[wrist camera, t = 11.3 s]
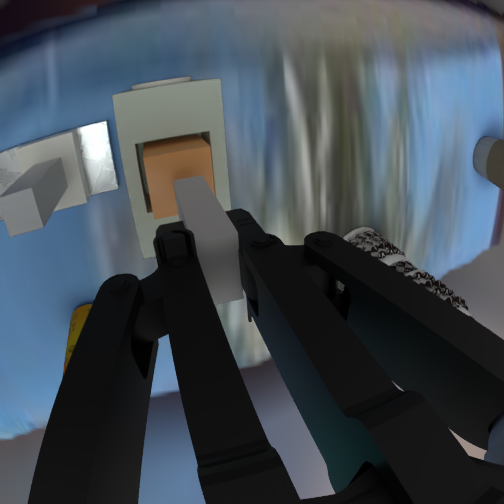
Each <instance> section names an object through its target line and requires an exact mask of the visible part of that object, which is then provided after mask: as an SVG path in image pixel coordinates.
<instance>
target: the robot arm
mask: <svg viewBox="0 0 504 504" xmlns="http://www.w3.org/2000/svg"><path fill="white" fill-rule="evenodd" d="M173 185H174V191H175V198H176V204H177V210H178V216H179V221H177V222H172V223H167V224H162V225H159V227H158V228H157V230H156V231H155V232H156V237H155V238H154V240H153V246H154V250H155V254H156V259H157V263H158V268H157V270H156V271H155V272H154V273H152V274H151V275H150V276H148V277H146V278H144V279H141V280H139V279H138V278H137V277H136V276H135V275H132V274H118V275H115V276H112V277H110V278H109V279H108V280H106V281H105V282H104V283H103V284H102V285H101V287H100V289H99V291H98V293H97V295H96V298H95V300H94V302H93V304H92V306H91V309H90V311H89V313H88V316H87V318H86V320H85V323H84V325H83V327H82V330H81V332H80V335H79V337H78V339H77V342H76V344H75V347H74V350H73V352H72V355H71V357H70V360H69V362H68V365H67V368H66V371H65V373H64V376H63V379H62V382H61V384H60V387H59V390H58V393H57V396H56V399H55V402H54V405H53V408H52V411H51V414H50V418H49V421H48V424H47V427H46V431H45V434H44V438H43V441H42V445H41V448H40V452H39V456H38V460H37V464H36V468H35V472H34V477H33V481H32V485H31V490H30V494H29V500H28V504H138V497H139V486H140V475H141V465H142V456H143V446H144V438H145V430H146V423H147V415H148V408H149V401H150V394H151V387H152V381H153V375H154V369H155V363H156V357H157V351H158V345H159V344H158V339H159V338H161V337H163V336H165V335H167V334H169V339H170V345H171V350H172V355H173V361H174V366H175V371H176V375H177V380H178V385H179V390H180V394H181V399H182V403H183V408H184V412H185V416H186V420H187V424H188V428H189V432H190V436H191V440H192V444H193V448H194V452H195V455H196V459H197V464H198V468H197V471H198V477H199V481H200V485H201V489H202V492H203V495H204V499H205V502H206V504H504V340H503V339H502V338H500V337H499V336H497V335H496V334H494V333H493V332H492V331H490V330H489V329H487V328H486V327H484V326H483V325H481V324H480V323H478V322H477V321H475V320H474V319H472V318H471V317H469V316H468V315H466V314H465V313H463V312H462V311H460V310H459V309H457V308H456V307H454V306H453V305H451V304H450V303H448V302H446V301H445V300H443V299H442V298H440V297H439V296H437V295H436V294H434V293H432V292H431V291H429V290H428V289H426V288H424V287H423V286H421V285H420V284H418V283H416V282H415V281H413V280H412V279H410V278H408V277H407V276H405V275H404V274H402V273H400V272H399V271H397V270H395V269H394V268H392V267H390V266H389V265H387V264H385V263H384V262H382V261H380V260H379V259H377V258H375V257H374V256H372V255H370V254H369V253H367V252H365V251H364V250H362V249H360V248H358V247H357V246H355V245H353V244H352V243H350V242H348V241H346V240H345V239H343V238H341V237H339V236H338V235H335V234H333V233H329V232H325V231H321V232H320V231H318V232H314V233H310V234H309V235H307V236H306V237H305V239H304V245H284V243H283V242H282V241H281V240H280V239H279V238H278V237H277V236H275V235H272V234H266V233H265V232H264V231H263V230H262V228H261V227H260V226H259V224H258V223H257V222H256V221H255V219H253V217H252V215H251V214H250V213H249V212H247V211H245V210H243V209H235V210H230V211H224V209H223V208H222V206H221V204H220V203H219V201H218V200H217V198H216V196H215V195H214V193H213V191H212V190H211V188H210V187H209V185H208V183H207V182H206V180H205V179H204V177H203V175H201V176H195V177H189V178H184V179H178V180H173ZM338 281H340V282H341V283H343V284H344V285H345V286H344V291H341V290H340V289H338V288H337V287H338ZM242 287H243V288H242ZM243 289H244V291H245V293H246V298H247V310H248V320H249V322H252V319H251V317H253V319H254V321H255V323H256V325H257V327H258V329H259V332H260V334H261V336H262V338H263V340H264V342H265V344H266V346H267V348H268V350H269V352H270V354H271V356H272V358H273V360H274V362H275V364H276V366H277V368H278V370H279V372H280V374H281V376H282V378H283V380H284V382H285V384H286V386H287V388H288V390H289V392H290V394H291V396H292V398H293V400H294V402H295V404H296V406H297V408H298V410H299V412H300V414H301V416H302V418H303V420H304V422H305V424H306V425H307V428H308V429H309V431H310V433H311V435H312V437H313V439H314V441H315V443H316V445H317V447H318V449H319V451H320V453H321V455H322V456H323V458H324V460H325V463H326V465H327V469H328V475H329V479H330V482H331V485H332V487H333V489H334V491H335V493H336V494H333V495H328V496H322V497H315V498H309V499H302V500H300V498H299V496H298V494H297V492H296V489H295V487H294V485H293V483H292V481H291V479H290V477H289V475H288V472H287V470H286V468H285V466H284V464H283V462H282V460H281V458H280V456H279V454H278V452H277V451H276V449H275V448H273V447H272V446H271V445H270V443H269V442H268V439H267V437H266V435H265V432H264V430H263V428H262V425H261V423H260V421H259V418H258V416H257V413H256V411H255V408H254V406H253V404H252V401H251V399H250V396H249V394H248V391H247V389H246V386H245V384H244V381H243V379H242V376H241V374H240V371H239V368H238V366H237V363H236V361H235V358H234V356H233V353H232V350H231V348H230V345H229V343H228V340H227V337H226V335H225V332H224V329H223V327H222V324H221V321H220V318H219V316H218V313H217V310H216V307H215V305H217V304H221V303H225V302H230V301H234V300H238V299H242V298H243ZM392 381H393V382H394V383H395V384H396V385H398V386H399V387H400V388H401V389H402V390H404V391H401V390H399V389H398V388H397V387H396V386H395V384H394V383H393V382H392ZM449 429H450V430H452V431H453V432H454V433H456V434H457V435H458V436H460V437H461V438H463V439H464V440H466V441H468V442H469V443H471V444H473V445H475V446H477V447H479V448H482V449H484V450H487V452H486V454H485V455H484V460H481V459H478V458H474V457H471V456H469V455H468V454H467V453H466V451H465V450H464V448H463V447H462V446H461V444H460V443H459V442H458V440H457V439H456V438H455V436H454V435H453V434H452V432H451V431H450V430H449Z"/></svg>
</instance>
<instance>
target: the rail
mask: <svg viewBox="0 0 504 504" xmlns="http://www.w3.org/2000/svg"><path fill="white" fill-rule="evenodd" d="M74 129H76V132H77V137H78V143H79V148H80V153H81V158H82V163H83V168H84V172H85V177H86V181H87V185H88V190H89V194H90V195H94V194H98V193H102V192H106V191H111V190H115V189H118V187H119V181H118V176H117V171H116V166H115V161H114V155H113V150H112V144H111V138H110V132H109V125H108V120H104V121H99V122H95V123H91V124H87V125H83V126H80V127H76V128H72V129H69V130H65V131H62V132H58V133H55V134H51V135H48V136H45V137H42V138H39V139H35V140H32V141H29V142H26V143H23V144H21V145H18V146H15V147H12V148H9V149H7V150H4V151H1V152H0V195H1V194H2V193H3V192H4V191H5V190H7V189H8V188H9V187H10V186H11V185H12V184H13V183H14V182H15V181H16V180H17V179H18V178H19V177H20V176H22V175H21V171H20V167H19V163H18V159H17V154H16V149H17V148H19V147H20V146H22V145H25V144H28V143H31V142H34V141H37V140H40V139H43V138H46V137H50V136H53V135H56V134H60V133H63V132H67V131H70V130H74ZM0 220H3V216H2V213H1V210H0Z"/></svg>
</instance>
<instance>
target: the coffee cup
mask: <svg viewBox="0 0 504 504" xmlns="http://www.w3.org/2000/svg"><path fill="white" fill-rule="evenodd" d="M473 165H474V168H475V170H476V171H477V172H478V173H479V174H480V175H482V176H483V177H485V178H486V179H487V180H489V181H490V182H492V183H493V184H495V185H496V186H498V187H499V188H500V189H502V190H503V191H504V140H501V139H497V138H492V137H483V138H481V139H480V140H479V141H478V143H477V144H476V147H475V149H474V154H473Z"/></svg>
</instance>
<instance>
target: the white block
mask: <svg viewBox="0 0 504 504" xmlns="http://www.w3.org/2000/svg"><path fill="white" fill-rule="evenodd" d="M131 87H132V90H129V91H124V92H121V93H118V94H115V95H112V97H113V105H114V113H115V120H116V126H117V133H118V139H119V145H120V151H121V157H122V162H123V168H124V173H125V178H126V184H127V189H128V193H129V198H130V203H131V208H132V212H133V217H134V221H135V225H136V230H137V234H138V238H139V242H140V246H141V250H142V254H143V258H144V259H145V258H149V257H154V256H156V254H155V250H154V246H153V240H154V238H155V237H156V232H155V231H156V230H157V228H158V227H159V225H162V224H167V223H172V222H177V221H179V216H178V215H175V216H170V217H165V218H160V219H155V220H154V215H153V210H152V205H151V200H150V194H149V189H148V183H147V178H146V172H145V166H144V160H143V143H146V142H151V141H156V140H162V139H167V138H173V137H179V136H185V135H191V134H198V135H199V136H200V137H201V138H202V139H203V140H204V141H205V142H206V143H207V144H208V145H209V146H210V149H211V160H212V170H213V180H214V189H215V196H216V198H217V200H218V201H219V203H220V204H221V206H222V208H223V209H224V211H230V210H231V203H230V192H229V180H228V168H227V156H226V144H225V131H224V118H223V105H222V91H221V79H204V80H191V76H190V77H182V78H174V79H167V80H161V81H154V82H149V83H143V84H138V85H133V86H131Z"/></svg>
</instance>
